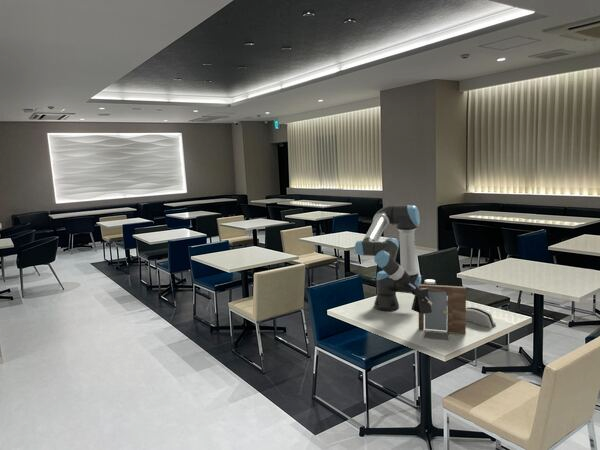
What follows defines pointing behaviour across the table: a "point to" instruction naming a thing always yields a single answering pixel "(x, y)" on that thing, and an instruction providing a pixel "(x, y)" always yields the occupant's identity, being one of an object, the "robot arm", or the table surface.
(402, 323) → the table surface
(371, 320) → the table surface
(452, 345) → the table surface
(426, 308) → the phone stand
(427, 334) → the mat
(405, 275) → the robot arm
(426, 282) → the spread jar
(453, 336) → the table surface
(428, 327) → the door
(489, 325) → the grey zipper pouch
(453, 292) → the door frame
